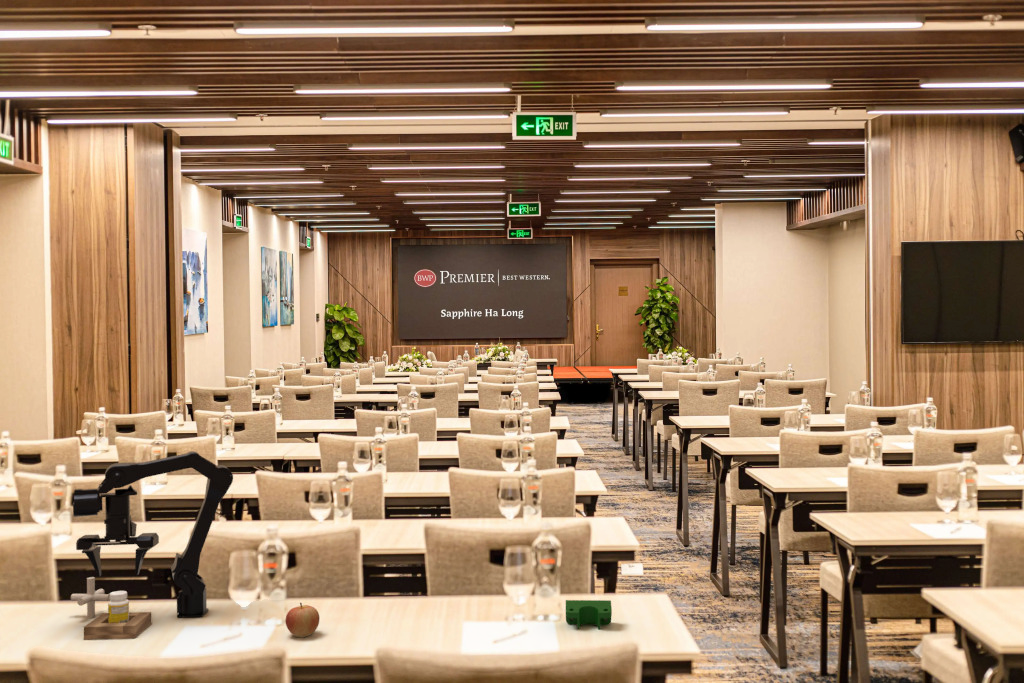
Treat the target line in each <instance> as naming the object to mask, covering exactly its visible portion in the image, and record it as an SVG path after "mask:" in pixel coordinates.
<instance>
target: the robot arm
mask: <svg viewBox="0 0 1024 683" xmlns="http://www.w3.org/2000/svg"><path fill="white" fill-rule="evenodd" d="M186 469H193V470H195V472H196V471H197V472H198V473H199V474H200V475H202V476H204V477H206V478H207V479H206V484H205V494H204V499H203V501H202V504H201V507H200V509H199V511H198V514H197V517H196V520H195V522H194V526H193V527H192V531H191V534H190V536H189V539H188V542H187V545H186V547H185V549H184V550H183V551H182V553H181V554H180V553H178V552H176V553H175V558H174V562H173V564H172V565H171V566H170V570H171V575H172V580H173V582H174V584H175V585H176V586H177V587H178V588H181V590H179V591H178V596H177V597H176V613H177V614H176V617H177V618H193V617H194V618H200V617H203V616H205V615H206V614H207V613H208V611H209V607H208V608H207V588H206V587H207V586H206V583H205V581H204V578H203V577H202V576H201V575H200V574H199V568H200V560H201V553H202V552H203V551H202V550H203V548H204V545H205V542H206V539H207V538H208V535H209V532H210V529H211V526H212V524H213V521H214V519H215V518H214V517H215V516H216V513H217V510H218V507H219V504H220V503H221V501H222V500H223V498H224V497H225V496H226V494H227V492H228V491H229V488H230V487H231V485H232V483H233V482H234V474H233V473H232V471H231V470H230V469H229V468H228V467H227V466H226V465H223V464H215V463H213V462H212V461H210V460H209V459H207V458H205V457H204V456H201V455H200V454H199V453H198V452H197V451H192V450H191V451H189V452H186V453H183V454H182V453H181V454H178V455H172V456H167V457H163V458H158V459H153V460H148V461H143V462H115V463H112V464H110V465H109V466H108V467H107V469H106V470H105V473H104V476H105V477H104V479H103V480H102V482H101V483H98V487H97V488H85V489H84V488H75V489H74V490H73V495H74V496H73V503H72V512H73V514H72V515H73V518H75V517H76V518H78V517H89V516H90V517H91V516H98V514H99V513H100V512H102V511H103V498H104V500H105V508H104V509H105V511H104V512H105V519H104V522H103V523H104V525H105V535H104V537H100V535H99V534H84V535H83V536H81V537H78V539H77V540H76V542H75V544H76V545H75V547H76V551H81V554H85V555H86V556H87V558H88V559H89V561H90V563H91V564H92V566H93V569H94V570H95V573H96V575H97V576H98V577H101V576H102V564H101V562H102V561H101V549H102V548H101V546H123V545H127V546H128V545H136V546H137V548H136V549H135V562H134V566H135V568H134V571H135V576H137V575H139V574H140V571H141V568H142V564H143V561H144V559H145V556H146V554H147V552H148V551H150V550H151V549H152V548H154V547H156V546H157V545H158V544H159V543H160V542H159V541H160V537H159V534H158V532H143V533H141V534H139V535H138V536H137V523H135V522H134V521H133V520H132V515H130V514H131V512H130V511H131V510H130V509H131V508H130V507H131V498H130V497H131V496H137V495H138V490H136V489H135V488H134V487H133V486H132V484H133V483H134V484H135V483H137V482H138V481H140V480H143V479H145V478H148V477H153V476H159V475H164V474H168V473H172V472H177V471H182V470H186ZM126 486H128V487H127V488H123V487H126ZM112 490H114V492H110V491H112Z"/></svg>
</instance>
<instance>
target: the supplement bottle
mask: <svg viewBox="0 0 1024 683" xmlns="http://www.w3.org/2000/svg"><path fill="white" fill-rule="evenodd" d="M109 594H110V601H108V604H107V613H108V623H127V622H129V612H130V600H129V599H128V592H127V591H126V590H116V591H112V592H109Z"/></svg>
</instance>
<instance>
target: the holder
mask: <svg viewBox="0 0 1024 683" xmlns="http://www.w3.org/2000/svg"><path fill="white" fill-rule="evenodd" d="M151 625H152V611H141V612H139V611H137V612H135V611H134V612H133V611H132V612H130V611H129V622H127V623H108V612H102V613H101V614H99V615H98V616H97V617H94V619H93V620H90V622H88V623H87V624H85V625H84V626H83V640H115V639H116V640H120V639H121V640H122V639H124V640H125V639H136V638H138V636H139V635H141V634H142V633H143V632H144V631H145V630H147V628H149V627H150V626H151Z"/></svg>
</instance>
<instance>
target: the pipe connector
mask: <svg viewBox="0 0 1024 683" xmlns="http://www.w3.org/2000/svg"><path fill="white" fill-rule="evenodd" d="M95 578H96V577H94V576H90V577H86V593H72V594H71V595H70V600H71V602H73V601H76V602H77V605H79V606H84V605H86V606H87V607H86V608H87V609H86V614H87V615H86V616H87V618H89V619H91V618H96V602H109V601H110V593H108V594H106V593H105V589H103V588H99V589H97V590H96V589H95V588H96V587H95V586H96V583H95V582H96V579H95Z"/></svg>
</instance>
